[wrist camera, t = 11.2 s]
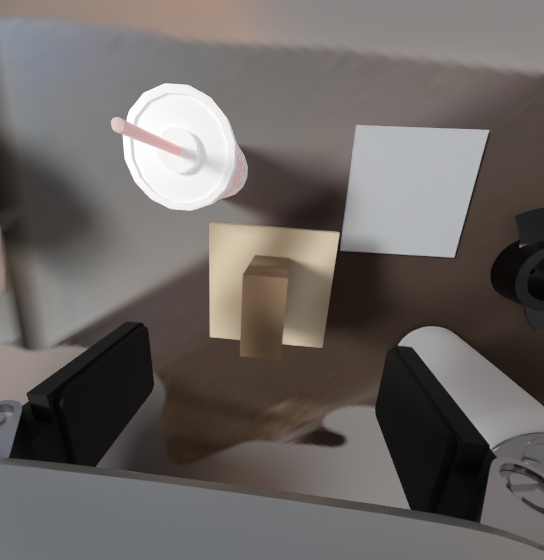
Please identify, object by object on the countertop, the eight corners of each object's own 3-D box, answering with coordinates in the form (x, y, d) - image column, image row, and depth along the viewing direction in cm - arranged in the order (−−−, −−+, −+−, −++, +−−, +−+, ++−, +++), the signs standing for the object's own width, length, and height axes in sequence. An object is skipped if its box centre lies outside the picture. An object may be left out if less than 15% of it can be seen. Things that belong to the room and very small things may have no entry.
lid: (337, 231, 18) (358, 245, 13) (321, 342, 21) (332, 394, 15) (212, 221, 18) (179, 231, 13) (212, 331, 21) (185, 378, 16)
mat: (485, 131, 20) (489, 130, 20) (451, 256, 23) (454, 257, 23) (355, 126, 20) (357, 125, 20) (339, 249, 23) (340, 250, 23)
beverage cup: (261, 202, 23) (220, 206, 9) (194, 210, 23) (67, 225, 10) (251, 124, 21) (183, -8, 8) (180, 135, 21) (-1, 31, 8)
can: (472, 335, 25) (624, 449, 14) (438, 386, 27) (546, 522, 16) (411, 315, 25) (514, 413, 13) (381, 367, 27) (450, 492, 15)
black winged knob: (457, 308, 25) (478, 321, 22) (509, 202, 22) (542, 203, 19) (534, 326, 25) (565, 342, 22) (597, 223, 22) (643, 227, 19)
